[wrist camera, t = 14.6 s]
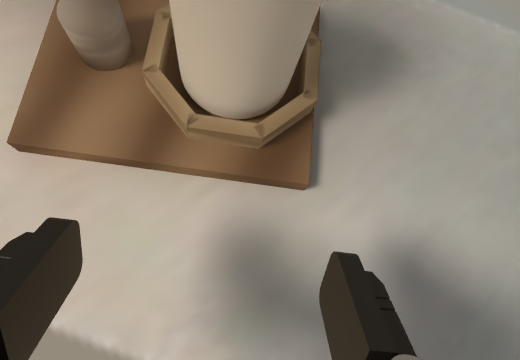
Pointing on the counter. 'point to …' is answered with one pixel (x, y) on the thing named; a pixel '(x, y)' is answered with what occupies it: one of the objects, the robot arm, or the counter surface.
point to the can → (240, 51)
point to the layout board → (154, 101)
